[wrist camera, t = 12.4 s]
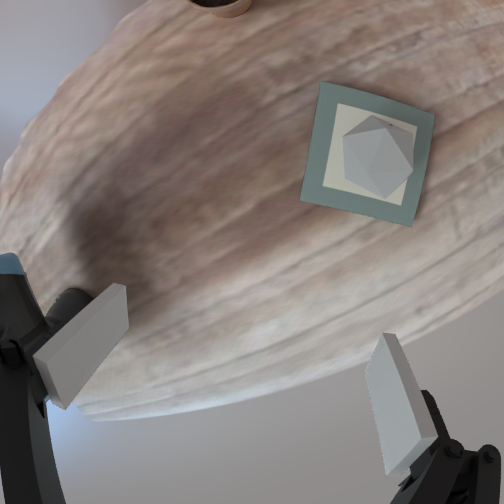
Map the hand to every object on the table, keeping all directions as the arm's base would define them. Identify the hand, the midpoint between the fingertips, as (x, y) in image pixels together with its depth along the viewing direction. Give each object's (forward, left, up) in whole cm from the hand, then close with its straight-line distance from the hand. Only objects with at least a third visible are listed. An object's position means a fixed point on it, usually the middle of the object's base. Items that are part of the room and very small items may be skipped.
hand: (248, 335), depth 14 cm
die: (+10, +10, -26) cm, 30 cm away
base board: (+10, +10, -28) cm, 32 cm away
